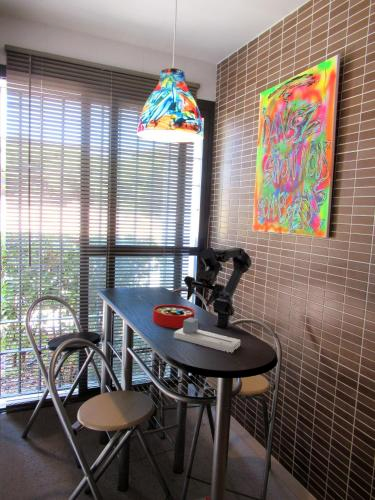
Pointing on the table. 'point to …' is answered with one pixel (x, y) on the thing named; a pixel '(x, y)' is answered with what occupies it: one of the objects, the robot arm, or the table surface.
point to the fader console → (209, 340)
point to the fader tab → (190, 325)
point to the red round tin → (171, 315)
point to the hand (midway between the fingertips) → (196, 302)
